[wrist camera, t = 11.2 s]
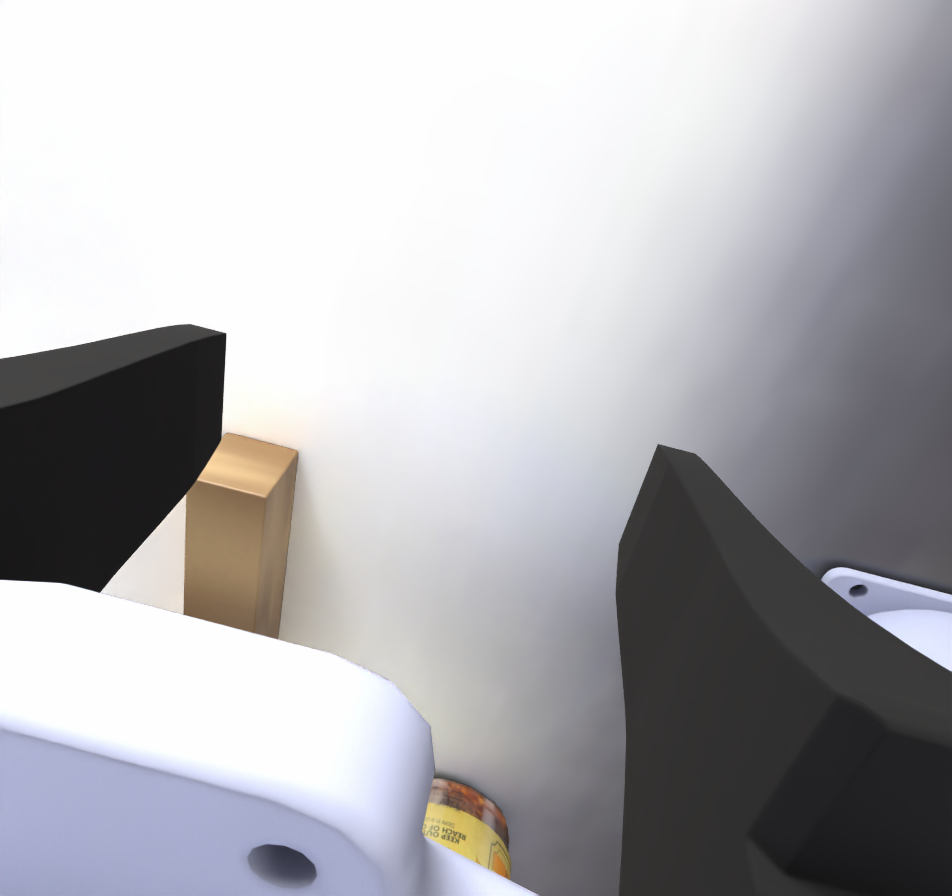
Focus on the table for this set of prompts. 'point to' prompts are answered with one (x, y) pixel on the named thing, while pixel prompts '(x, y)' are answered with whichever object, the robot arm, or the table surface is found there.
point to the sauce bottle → (468, 825)
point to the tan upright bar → (240, 535)
